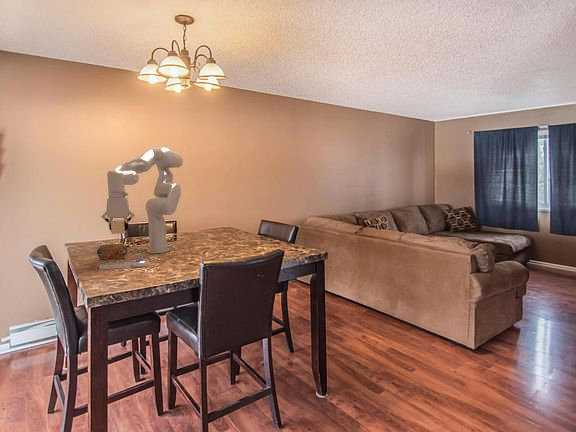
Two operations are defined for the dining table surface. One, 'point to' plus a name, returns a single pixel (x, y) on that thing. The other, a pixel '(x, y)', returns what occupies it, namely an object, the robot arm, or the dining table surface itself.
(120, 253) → the tin
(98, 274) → the dining table surface
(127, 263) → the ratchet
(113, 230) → the tan wooden cube
